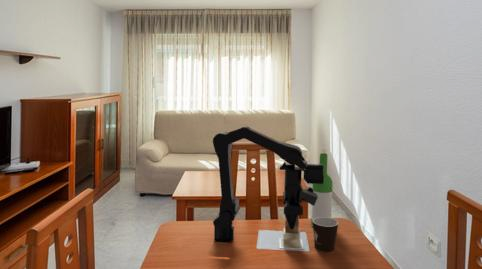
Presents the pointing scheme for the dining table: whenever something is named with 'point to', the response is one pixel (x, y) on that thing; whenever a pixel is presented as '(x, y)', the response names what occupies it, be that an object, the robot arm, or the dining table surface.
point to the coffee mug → (325, 233)
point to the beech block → (291, 239)
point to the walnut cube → (296, 227)
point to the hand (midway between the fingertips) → (291, 225)
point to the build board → (279, 241)
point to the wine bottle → (323, 194)
